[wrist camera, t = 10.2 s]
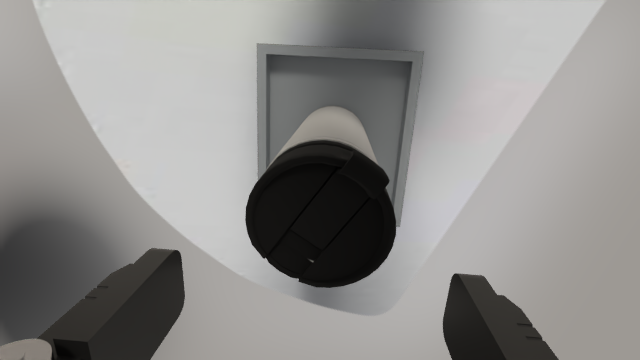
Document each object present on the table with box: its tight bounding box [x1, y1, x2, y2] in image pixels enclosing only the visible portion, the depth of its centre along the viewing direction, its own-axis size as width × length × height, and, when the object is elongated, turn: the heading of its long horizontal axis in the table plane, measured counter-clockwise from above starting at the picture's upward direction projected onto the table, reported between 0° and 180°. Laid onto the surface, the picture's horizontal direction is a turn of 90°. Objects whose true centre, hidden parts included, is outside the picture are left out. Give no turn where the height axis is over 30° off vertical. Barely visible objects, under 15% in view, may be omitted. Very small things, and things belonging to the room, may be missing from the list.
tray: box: [257, 43, 424, 227], centre depth 31 cm, size 16×14×2 cm
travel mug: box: [246, 105, 396, 288], centre depth 22 cm, size 6×7×20 cm
